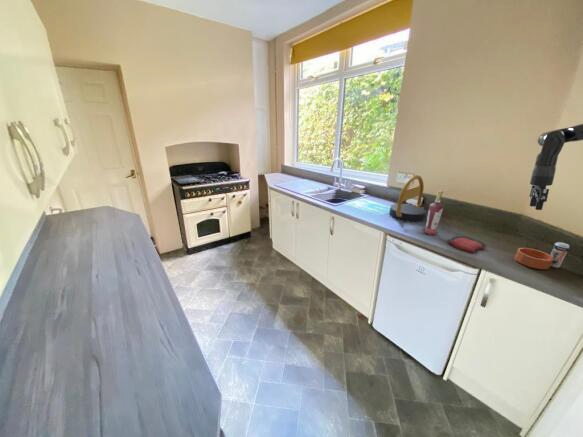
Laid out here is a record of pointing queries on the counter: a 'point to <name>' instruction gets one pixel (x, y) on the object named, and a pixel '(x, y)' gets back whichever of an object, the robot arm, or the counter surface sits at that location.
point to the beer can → (559, 253)
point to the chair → (409, 211)
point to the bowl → (533, 258)
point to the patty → (466, 245)
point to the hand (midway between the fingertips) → (535, 208)
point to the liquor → (434, 215)
